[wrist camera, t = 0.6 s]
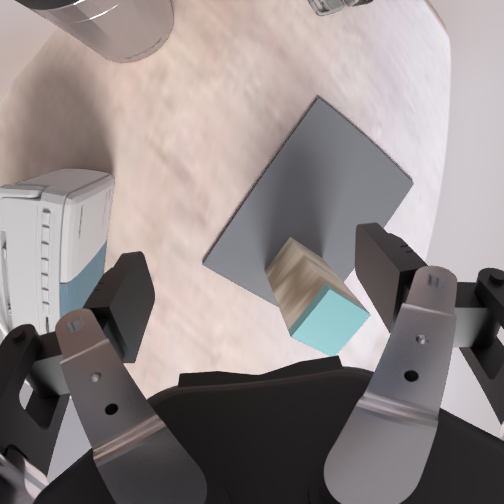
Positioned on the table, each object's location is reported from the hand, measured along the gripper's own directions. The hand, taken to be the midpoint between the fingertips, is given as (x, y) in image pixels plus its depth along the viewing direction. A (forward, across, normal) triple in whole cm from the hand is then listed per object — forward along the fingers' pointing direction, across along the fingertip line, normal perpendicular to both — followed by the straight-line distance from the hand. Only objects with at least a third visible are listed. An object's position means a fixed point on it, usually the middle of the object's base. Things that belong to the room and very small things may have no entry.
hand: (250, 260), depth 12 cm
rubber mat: (+23, -8, +8) cm, 26 cm away
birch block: (+22, -4, +13) cm, 26 cm away
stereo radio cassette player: (+21, +20, +8) cm, 30 cm away
